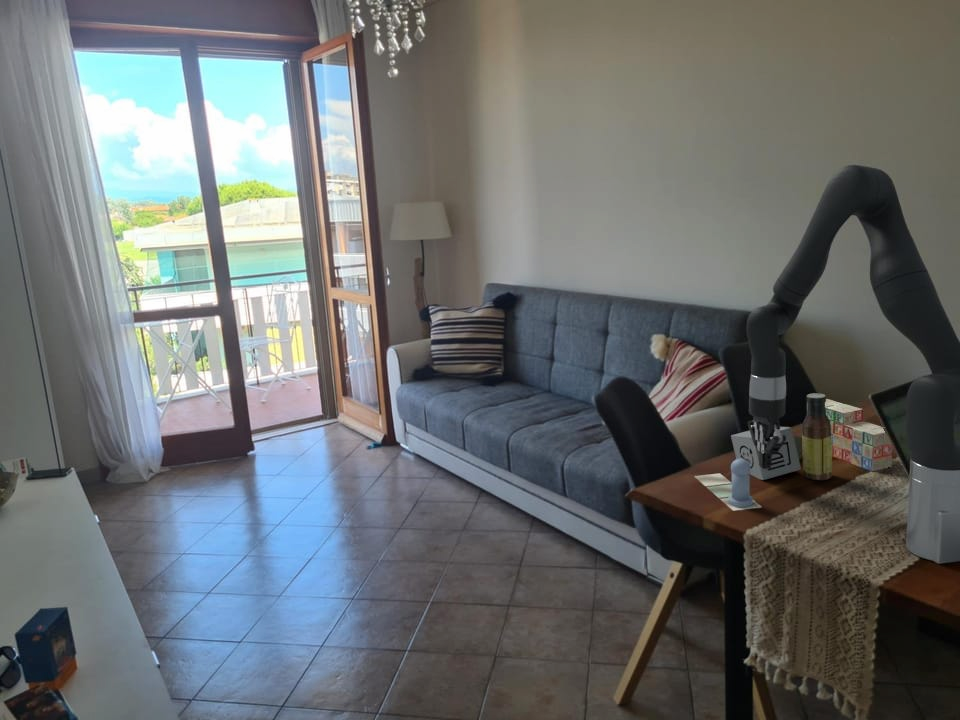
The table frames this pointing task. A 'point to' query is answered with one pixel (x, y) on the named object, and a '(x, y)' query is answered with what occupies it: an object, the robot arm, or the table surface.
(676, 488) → the table surface
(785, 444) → the icon cube
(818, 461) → the sauce bottle
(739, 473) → the pawn
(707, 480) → the board
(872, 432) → the stack of blocks
